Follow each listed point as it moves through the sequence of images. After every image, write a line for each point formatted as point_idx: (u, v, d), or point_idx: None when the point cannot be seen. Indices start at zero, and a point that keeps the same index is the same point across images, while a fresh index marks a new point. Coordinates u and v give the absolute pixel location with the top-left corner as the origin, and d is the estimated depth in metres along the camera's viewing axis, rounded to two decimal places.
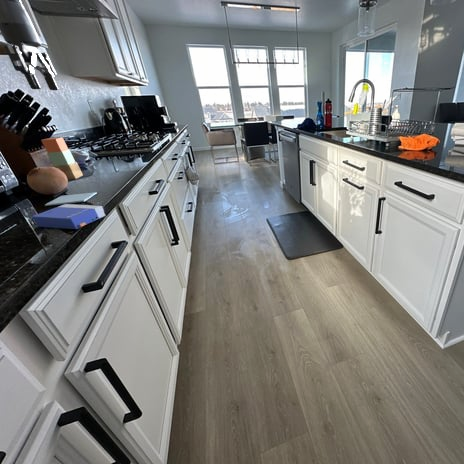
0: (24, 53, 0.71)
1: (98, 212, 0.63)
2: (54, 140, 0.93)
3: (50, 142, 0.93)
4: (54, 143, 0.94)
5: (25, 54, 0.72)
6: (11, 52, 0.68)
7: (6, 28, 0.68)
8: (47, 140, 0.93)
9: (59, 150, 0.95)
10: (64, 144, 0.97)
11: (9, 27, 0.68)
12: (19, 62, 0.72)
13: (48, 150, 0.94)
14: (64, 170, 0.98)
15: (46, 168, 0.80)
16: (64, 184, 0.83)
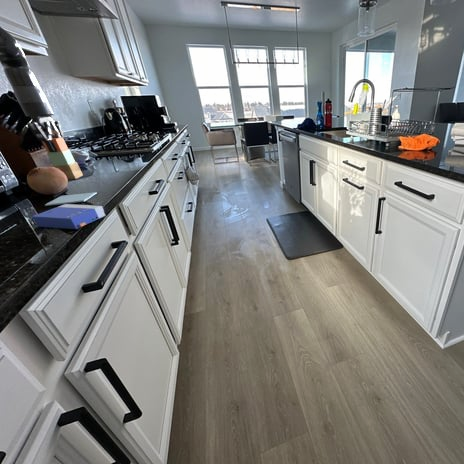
0: (40, 124, 0.89)
1: (98, 212, 0.63)
2: (54, 140, 0.93)
3: None
4: (54, 143, 0.94)
5: (41, 124, 0.90)
6: (34, 129, 0.88)
7: (27, 107, 0.86)
8: None
9: (59, 150, 0.95)
10: (64, 144, 0.97)
11: (29, 106, 0.86)
12: None
13: (48, 150, 0.94)
14: (64, 170, 0.98)
15: (46, 168, 0.80)
16: (64, 184, 0.83)
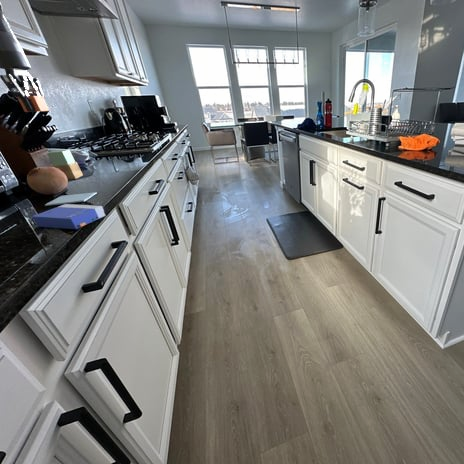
0: (15, 77, 0.79)
1: (98, 212, 0.63)
2: (32, 97, 0.83)
3: None
4: (32, 101, 0.84)
5: (16, 78, 0.79)
6: (7, 81, 0.77)
7: None
8: None
9: (38, 109, 0.85)
10: (44, 104, 0.87)
11: (1, 54, 0.76)
12: (14, 87, 0.81)
13: (25, 109, 0.84)
14: (64, 170, 0.98)
15: (46, 168, 0.80)
16: (64, 184, 0.83)
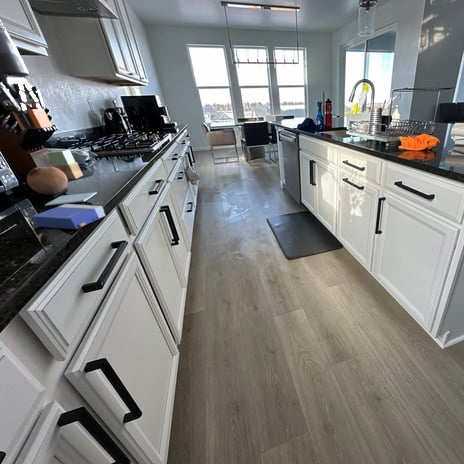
0: (9, 86, 0.62)
1: (98, 212, 0.63)
2: (30, 111, 0.66)
3: None
4: (31, 116, 0.66)
5: (10, 87, 0.62)
6: None
7: None
8: None
9: (38, 126, 0.68)
10: (45, 119, 0.70)
11: None
12: (7, 99, 0.63)
13: (22, 126, 0.67)
14: (64, 170, 0.98)
15: (46, 168, 0.80)
16: (64, 184, 0.83)
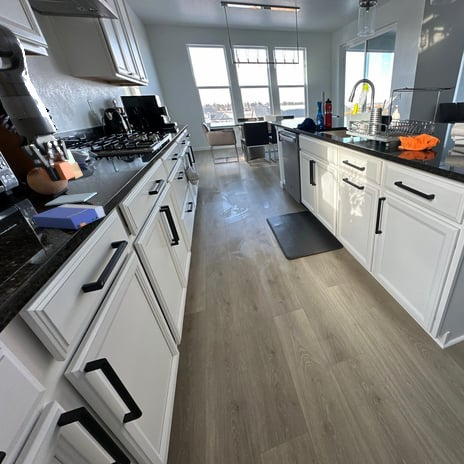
0: (39, 146, 0.67)
1: (98, 212, 0.63)
2: (57, 166, 0.71)
3: None
4: (57, 170, 0.72)
5: (40, 147, 0.67)
6: (30, 153, 0.65)
7: (20, 123, 0.64)
8: None
9: (64, 178, 0.73)
10: (70, 170, 0.75)
11: (23, 122, 0.64)
12: None
13: (49, 178, 0.72)
14: None
15: None
16: (64, 184, 0.83)
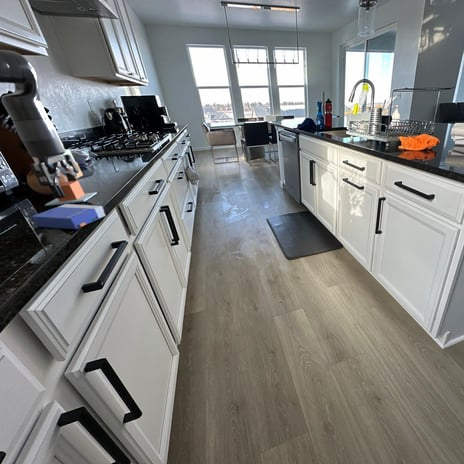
0: (49, 166, 0.70)
1: (98, 212, 0.63)
2: (68, 186, 0.74)
3: (63, 189, 0.74)
4: (68, 190, 0.74)
5: (50, 167, 0.70)
6: (37, 170, 0.67)
7: (32, 146, 0.67)
8: None
9: (74, 198, 0.76)
10: (79, 189, 0.78)
11: (35, 144, 0.67)
12: None
13: (60, 198, 0.75)
14: None
15: None
16: None
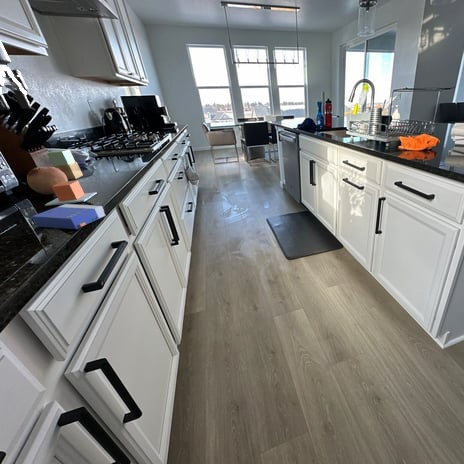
0: None
1: (98, 212, 0.63)
2: (68, 186, 0.74)
3: (63, 189, 0.74)
4: (68, 190, 0.74)
5: None
6: None
7: None
8: (59, 187, 0.74)
9: (74, 198, 0.76)
10: (79, 189, 0.78)
11: None
12: None
13: (60, 198, 0.75)
14: (64, 170, 0.98)
15: (46, 168, 0.80)
16: None
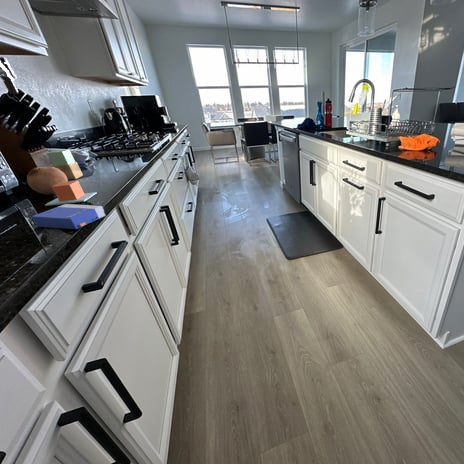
0: None
1: (98, 212, 0.63)
2: (68, 186, 0.74)
3: (63, 189, 0.74)
4: (68, 190, 0.74)
5: None
6: None
7: None
8: (59, 187, 0.74)
9: (74, 198, 0.76)
10: (79, 189, 0.78)
11: None
12: None
13: (60, 198, 0.75)
14: (64, 170, 0.98)
15: (46, 168, 0.80)
16: None
